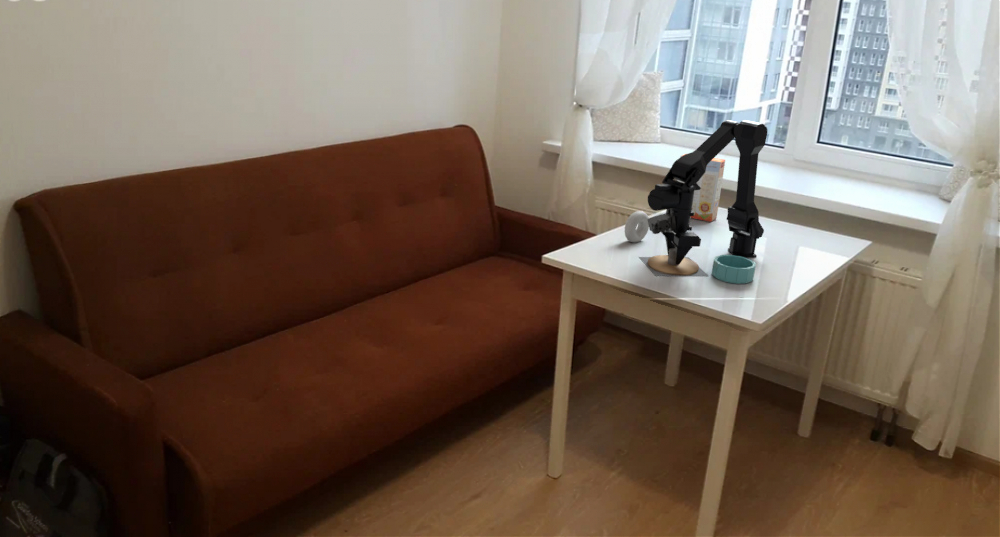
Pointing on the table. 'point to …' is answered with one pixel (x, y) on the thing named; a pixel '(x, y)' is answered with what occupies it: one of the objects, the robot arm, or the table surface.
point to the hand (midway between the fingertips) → (673, 260)
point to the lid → (672, 264)
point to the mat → (656, 273)
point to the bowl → (733, 269)
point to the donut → (631, 224)
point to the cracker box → (708, 191)
